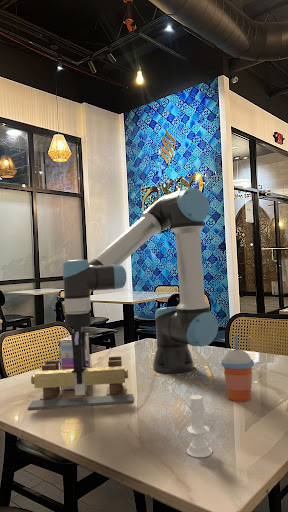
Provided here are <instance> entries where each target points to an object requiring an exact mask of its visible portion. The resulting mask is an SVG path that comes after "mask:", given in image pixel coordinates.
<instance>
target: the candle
mask: <svg viewBox="0 0 288 512" xmlns="http://www.w3.org/2000/svg"><path fill="white" fill-rule="evenodd" d="M189 399H190V400H189V401H190V402H189V403H190V404H189V410H190V413H191V415H190V416H191V425H189V426H188V427H187V428H186V431H187V432H188V433H190V434H192V435H193V438H192V441H191V442H190V443H189V447H188V448H187V449H186V454H187V455H188V456H190V457H193V458H198V459H200V458H206V457H209V456H211V455H212V454H213V449H212V448H211V447H210V446H209V443H208V442H207V441H206V438H205V437H204V435H206V434H207V433H208V432H209V431H210V427H209V426H207V425H205V417H204V416H205V415H204V414H205V413H204V411H205V408H204V401H203V400H204V399H203V396H202V395H198V394H195V393H194V395H192V396H190V397H189Z"/></svg>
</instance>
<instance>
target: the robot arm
mask: <svg viewBox="0 0 288 512" xmlns="http://www.w3.org/2000/svg"><path fill="white" fill-rule="evenodd" d="M210 209H211V208H210V202H209V199H208V197H207V196H206V195H205V194H204V193H203V192H202V191H201V190H200V189H198V188H192V187H191V188H184V189H181V190H178V191H175V192H171V193H167V194H165V195H163V196H161V197H160V198H158V199H157V200H156V201H154V202H153V203H152V204H151V205H150V206H149V207H148V208H147V209H146V210H145V211H143V212H142V213H141V215H140V219H138V220H137V221H136V222H134V224H132V226H130V227H129V228H128V229H127V230H126V231H124V233H122V234H121V235H120V236H119V237H117V238H116V239H115V240H114V241H113V242H112V243H110V244H109V245H108V246H107V247H106V248H104V249H103V250H102V252H100V253H99V254H98V255H97V256H96V257H94V258H93V259H92V260H91V261H90V262H89V261H88V259H71V260H70V259H69V260H65V261H64V262H63V268H62V279H63V292H64V293H63V294H64V301H62V305H63V306H64V312H65V315H64V325H65V327H68V328H72V329H73V331H72V332H70V334H71V338H72V347H73V364H74V369H73V371H72V373H75V391H74V392H75V396H82V395H83V396H84V395H86V391H87V385H85V376H84V367H88V364H85V363H86V355H85V344H86V340H85V337H86V333H87V332H86V330H84V327H88V326H90V325H91V323H92V313H91V312H90V311H91V310H92V308H91V307H92V306H91V292H94V291H107V290H108V291H109V290H114V291H115V290H119V289H122V288H124V287H125V286H126V283H127V271H126V269H125V267H123V265H122V264H123V262H125V261H126V260H128V258H129V257H130V256H132V255H133V254H134V253H135V252H136V251H137V250H138V249H140V248H141V247H142V246H143V245H144V244H145V243H146V242H147V241H148V240H150V239H151V237H153V236H154V235H159V234H160V233H162V231H164V230H166V229H167V228H170V230H171V232H172V233H174V235H175V245H176V246H175V247H176V249H175V250H176V261H177V273H178V274H177V276H178V287H179V288H178V290H179V291H178V292H179V304H177V306H167V307H160V308H156V311H155V316H154V321H155V333H156V336H155V338H156V350H155V354H154V359H153V362H152V364H153V366H152V369H153V371H155V372H158V373H163V374H178V373H180V374H181V373H185V372H189V371H191V370H193V369H194V367H195V365H194V360H193V357H192V355H191V351H190V349H189V345H190V346H193V347H206V346H209V345H210V344H211V343H212V342H213V341H214V339H215V338H216V336H217V334H218V331H219V323H218V319H217V317H215V315H214V314H213V313H211V307H210V304H209V303H208V302H206V296H205V286H204V285H205V283H204V271H203V269H204V268H203V256H202V243H201V233H202V230H203V229H204V228H205V220H206V219H207V217H208V216H209V214H210Z"/></svg>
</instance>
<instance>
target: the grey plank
mask: <svg viewBox="0 0 288 512" xmlns="http://www.w3.org/2000/svg"><path fill="white" fill-rule="evenodd" d="M131 403H132V404H133V403H134V394H133V393H128V394H127V393H126V394H124V395H110V396H106V395H96V396H84V397H83V396H82V397H68V398H67V397H66V398H61V399H50V400H40V399H38V400H32V401H31V402H30V404H29V405H28V407H27V410H28V411H29V410H40V409H41V410H43V409H58V408H71V407H73V408H74V407H86V406H103V405H116V404H117V405H118V404H131Z"/></svg>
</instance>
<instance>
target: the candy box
mask: <svg viewBox="0 0 288 512" xmlns="http://www.w3.org/2000/svg"><path fill="white" fill-rule="evenodd" d="M85 340H86V344H85V355H86V363H85V364H88V367H84V368H91V358H90V355H91V354H90V339H89V333H87V332H86V337H85ZM58 346H59V347H58V350H59V351H58V355H59V370H67V369H74V364H73V347H72V338H71V335H68V336H67V337H64V338H62V339H60V340H58ZM60 390H64V391H74V392H75V386H65V387H60Z"/></svg>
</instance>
